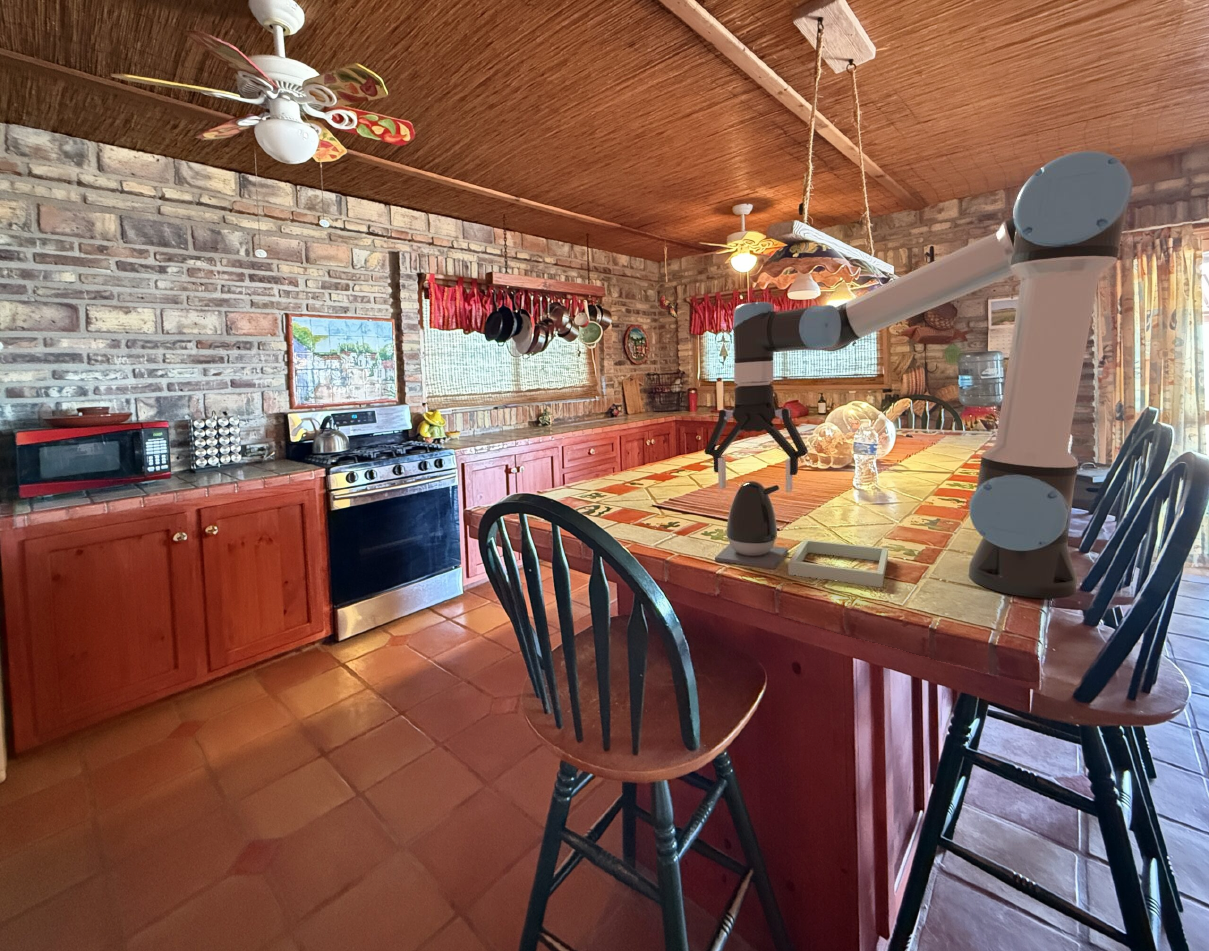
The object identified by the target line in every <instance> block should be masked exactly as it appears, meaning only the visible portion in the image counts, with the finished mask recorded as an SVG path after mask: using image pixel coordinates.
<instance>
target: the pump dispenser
mask: <svg viewBox="0 0 1209 951" xmlns="http://www.w3.org/2000/svg"><path fill="white" fill-rule="evenodd" d="M779 489H780V487H779V485H777V484H775V485H773V486H768V487H764V485H762V483H760V482H758V481H754V480H748V481H745V482H744V483H742V484H741V485H740V487H739V488H738V490H737V491H736V493H735V494H734V498H733V500H732V503H731V506H730V509H729V513H728V517H727V523H726V538H727V539H728V543H729V544H730V545H731V547H732V548H733V549H734V550H735V551H736V552H738V553H740V554H742V555H745V556H760V555H763V554H766V553H767V552H769V551H770V550H771V548H772V547H773V546H774V545H775V541H776V539H777V538H778V527H777V526H778V525H777V519H776V518H777V517H776V515H775V514H776V513H775V510H774V506H773V503H772V500H771V498H770V494H773V493H775V492H776V491H779Z"/></svg>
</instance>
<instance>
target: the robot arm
mask: <svg viewBox="0 0 1209 951" xmlns="http://www.w3.org/2000/svg"><path fill="white" fill-rule="evenodd" d="M1132 192H1133V180H1132V177H1131V174H1130V172H1129V170H1128V169H1127V167H1126V166H1125V165H1124V164H1123V162H1121V160H1119V159H1117V157H1115V156H1113V155H1111V154H1109V153H1106V152H1102V151H1096V150H1083V151H1082V150H1081V151H1076V152H1072V153H1068V154H1065V155H1061V156H1059V157H1056V158H1055V159H1053V160H1051V161H1050V162H1048V163H1046V164H1045V165H1043V166H1042V167H1040V168H1039V169H1037V171H1035V172H1034V173H1033V174H1032V175H1031V176H1030V177H1029V179H1027V180H1026V182H1025V183H1024V185H1023V186H1022V188H1021V189H1020V190H1019V192H1018V195H1017V198H1016V200H1015V202H1014V206H1013V211H1012V212H1013V213H1012V215H1013V216H1012V217H1011V218H1009V219H1007V220H1005V221H1003V222H1002V223H1001V225H1000V227H999V229H998V230H997V231H996V232H993V233H992V234H990V235H988V236H984V237H983V238H981V239H979V240H977V241H974V242H973V243H970V244H968V245H966V246H964V247H961V248H960V249H957V250H955V251H952V253H951V252H950V253H949V254H947V255H944V256H942V257H941V258H940V257H939V258H938V259H937V260H934V261H932V262H930V263H928V264H927V263H926V265H922V266H921V267H919V268H917V269H914V270H913V271H911V272H908V273H906V274H904V275H901V276H900V277H898V278H895V279H894V280H893V279H892V280H891V281H888V282H887V283H885V284H883V285H881V286H878V287H876V288H874V289H872V290H869V291H868V292H866V293H863V294H860V295H858V296H857V297H855V298H852V299H851V300H848V301H846V302H845V303H842V304H840V305H837V306H834V305H830V304H826V305H817V304H815V305H812V306H809V307H807V306H806V307H802V308H801V307H800V308H795V309H793V308H792V309H788V310H778V311H775V310H774V309H775V308H774V304H773V303H771V302H768V301H758V302H748V303H742V304H739V305H737V306H736V307H735V309H734V311H733V326H732V331H733V348H734V351H733V352H734V354H733V355H734V357H733V359H734V360H733V363H734V364H733V369H734V370H733V371H734V372H733V375H734V376H733V379H734V380H733V382H734V384H737V386H735V387H734V409H733V410H730V409H729V410H728V409H727V408H724V409H720V410H719V412H718V418H717V419H718V421H717V423H716V424H715V427H714V429H713V432H712V434H711V436H710V438H709V440H708V442H707V444H706V447H705V449H704V452H703V453H704V454H706V455H709V456H711V457H713V472H714V473H718V474H717V476H718V477H717V478H718V481H717V482H718V490H723V489H725V488H727V474H726V473H727V471H726V470H727V469H726V467H727V464H726V460H727V459H726V456H723V454H724V453H725V451H726V450H727V449H728V448H729V447H730V445H731V444H732V443H733V442H734V441H735V439H736V438H737V437H738V436H739V434H740V433H742V431H744V432H745V433H746V432H748V433H749V432H753V431H754V432H763V431H765V432H766V433H767V434H769V435H770V437H771V438H773V440H774V441H775V443H776V444H778V446H779V447H780V448H781V449H782V450H783V451H784V452H785V454H786V455H787V456H788V457H787V458H786V459H785V493H791V492H792V491H793V476H796V475H797V474H798V472H799V458H800V457H801V458H802V457H804V456H806V455H807V454H808V453H809V450H808V448H807V446H806V444H805V442H804V440H803V438H802V436H801V435H800V432H799V430H798V428H797V426H796V425H795V423H794V421H793V419H792V412H791V411H792V410H791V408H790V407H784V408H781V409H775V405H774V404H775V403H774V401H775V400H774V398H775V397H774V394H775V392H774V391H775V390H774V386H773V384H771V382H774V380H775V379H774V354H775V353H780V352H792V351H794V352H795V351H825V352H836V351H839V350H843V349H845V348H847V347H848V346H849V345H850V344H851V343H853V342H855V341H858V340H860V339H862V338H863V337H866V336H869V335H870V334H873V333H876V332H879V331H881V330H883V329H885V328H886V329H887V327H890V326H892V325H895V324H897V323H900V322H903V321H905V320H907V319H910V318H912V317H913V318H914V317H915V316H917V315H919V314H922V313H924V312H927V311H930V310H931V309H934V308H936V307H939V306H941V305H944V304H947V303H948V302H951V301H954V300H955V299H958V298H961V297H964V296H967V295H968V294H971V293H973V292H976V291H978V290H980V289H983V288H985V287H987V286H990V285H993V284H996V283H998V282H1000V281H1002V280H1004V279H1007V278H1009V277H1013V276H1017V278H1018V279H1019V280H1020V285H1019V289H1018V290H1019V291H1018V298H1017V303H1016V304H1017V305H1016V310H1015V317H1014V324H1013V330H1012V334H1011V335H1012V337H1011V341H1010V347H1009V348H1010V350H1009V356H1008V363H1007V368H1006V375H1005V381H1004V386H1003V387H1004V388H1003V393H1002V400H1001V406H1000V407H1001V408H1000V413H999V420H998V424H997V432H996V437H995V438H996V439H995V443H994V444H993V445H992V446H991V447H989V448H988V449H987V450H985V451H984V452H982V453H981V458H980V464H979V471H978V476H977V484H976V489H975V490H974V492H972V496H971V498H970V499H969V503H968V504H969V505H968V506H969V507H968V511H969V517H970V520H971V523H972V525H973V527H974V529H975V531H976V532H978V534H979V535H980V536H981V537H982V538H981V540H980V542H979V544H978V546H977V548H976V550H975V552H974V554H973V556H972V558H971V560H970V562H969V569H968V578H970V580H971V581H973V582H974V583H976V584H978V585H980V586H982V587H984V588H987V589H989V590H992V591H995V592H998V593H1003V594H1007V595H1012V596H1019V597H1024V598H1033V599H1049V600H1050V599H1051V600H1052V599H1064V598H1068V597H1071V596H1074V594H1076V592H1077V583H1078V578H1077V574H1076V571H1075V567H1074V565H1073V560H1072V556H1071V554H1070V550H1069V547H1068V546H1069V545H1068V542H1069V533H1070V525H1071V516H1072V505H1073V497H1074V492H1075V491H1074V489H1075V482H1076V478H1077V476H1078V468H1079V462H1078V460H1077V459H1076V458H1075V457H1074V456H1072V454H1071V453H1070V452H1069V450H1068V446H1069V441H1070V436H1071V430H1072V425H1073V420H1074V413H1075V409H1076V402H1077V398H1078V393H1079V388H1080V382H1081V376H1082V375H1081V374H1082V371H1083V370H1082V369H1083V366H1084V365H1083V364H1084V361H1085V360H1084V359H1085V354H1086V349H1087V344H1088V339H1089V338H1088V337H1089V332H1090V326H1091V322H1092V317H1093V312H1094V311H1093V310H1094V305H1095V301H1096V300H1095V299H1096V296H1097V295H1096V294H1097V289H1098V284H1099V278H1100V276H1101V275H1102V274H1103V273H1104V272H1105V271H1107V270H1108V269H1109V268H1110V267H1111V266H1113V265H1114V264H1116V262H1117V261H1118V257H1119V251H1120V245H1121V241H1122V234H1123V229H1124V226H1125V225H1124V224H1125V221H1126V220H1125V219H1126V217H1127V213H1128V208H1129V206H1128V205H1129V202H1130V199H1131V196H1132ZM776 416H777V417H778V419H779V420H780V421H782V423H783V425H784V427H785V429H786V431H787V433H788V434H789V437H790V439H791V440H792V442H793V444H794V446H795V448H796V449H795V448H794V447H793V445H792V444H791V443H790V442H789V441H788V440H787V439H786V437H785V436H784V435H783V434H782V433H781V431H779V429H778V428H777V426H776V425H775V424H774V423H773V421H774V419H775V418H776ZM731 417H732V418H733V419H734V421H735V422H736V423H735V425H734V426H733V427H732V429H731V431H729V433H728V434H727V436H726V437H725V438H724V439H723V441H722V442H721V443H719V446H718V447H717V445H718V442H719V441H720V438H721V436H722V434H723V432H724V430H725V428H726V426H727V422H728V421H730V420H731V419H732V418H731ZM716 447H717V448H716Z"/></svg>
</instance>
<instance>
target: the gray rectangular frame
mask: <svg viewBox="0 0 1209 951" xmlns="http://www.w3.org/2000/svg"><path fill="white" fill-rule="evenodd" d="M809 553H810V554H820V555H825V554H826V556H833V555H834V557H835V556H836V557H844V558H849V559H851V558H852V559H860V560H869V561H876V562H877V561H878V566H877V570H868V569H859V568H853V567H851V568H850V567H844V566H836V565H827V564H822V563H821V564H820V563H814V562H813V563H812V562H806V561H804V559H805V558H806V557H807V555H808V554H809ZM888 555H889V548H888V547H879V546H869V545H861V544H850V543H843V542H831V541H822V540H813V539H803V540H802V541H801V543H800V545H799V546H798V547H797V549H796V550H795V552H794V554H793V555H792V557H790V559H789V561H787V562H788V566H787V567H788V568H787V570H788V571H787V575H788V574H789V575H788V576H794V575H796V576H795V577H801V576H802V578H809V577H811V579H816V578H817V580H823V579H830V580H837V581H836V582H838V581H842V582H841V583H845V582H848V583H847V584H852V583H855V584H854V585H861V586H865V587H866V586H867V587H874V588H875V587H876V588H881V589H883V586H884V585H883V584H884V579H885V575H886V570H887V564H888V561H889V559H888V558H889V557H888ZM830 580H829V581H830Z"/></svg>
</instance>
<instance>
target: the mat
mask: <svg viewBox="0 0 1209 951" xmlns="http://www.w3.org/2000/svg"><path fill="white" fill-rule="evenodd" d="M787 553H788V547H784V546H783V547H782V546H774V545H773V547H772V548H771V550H770V551H769V552H767V553H766V554H763V555H760V556H745V555H742V554H740V553H738V552H736V551H735V550H734V549H733V548H732V547H731V545H730V543H729V544H727V545H726V547H725V548H723V549H722V550H721V551H720V552H719V553H718V554H717V555H715V557H714V562H718V563H725V562H727V563H728V562H729V563H728V564H733V563H736V564H735V565H740V564H742V566H747V565H748V567H755V566H757V567H756V568H762V567H763V568H762V569H769V568H771V569H770V570H775V569H776V568H777V567H778V565H779V564H780V563H781V561H782V560H783V558H784V557H785V555H786V554H787ZM727 563H726V564H727ZM778 563H779V564H778Z"/></svg>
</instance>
